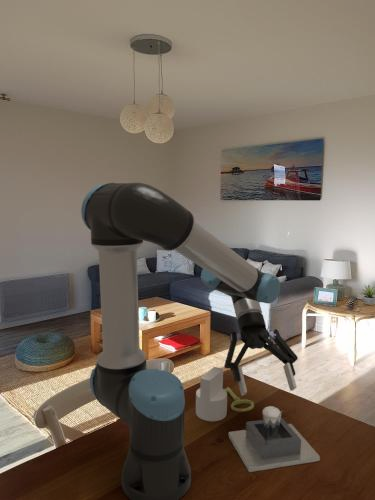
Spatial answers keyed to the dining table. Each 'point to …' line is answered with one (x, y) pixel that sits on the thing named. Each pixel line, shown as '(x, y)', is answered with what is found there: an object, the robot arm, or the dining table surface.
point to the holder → (271, 447)
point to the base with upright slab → (211, 396)
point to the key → (239, 401)
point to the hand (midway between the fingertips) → (269, 391)
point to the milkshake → (271, 423)
